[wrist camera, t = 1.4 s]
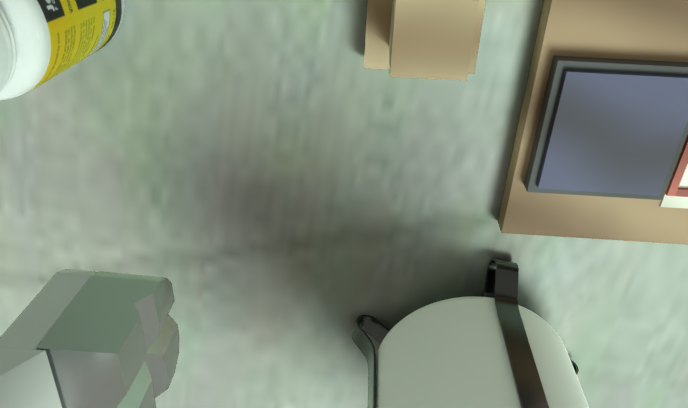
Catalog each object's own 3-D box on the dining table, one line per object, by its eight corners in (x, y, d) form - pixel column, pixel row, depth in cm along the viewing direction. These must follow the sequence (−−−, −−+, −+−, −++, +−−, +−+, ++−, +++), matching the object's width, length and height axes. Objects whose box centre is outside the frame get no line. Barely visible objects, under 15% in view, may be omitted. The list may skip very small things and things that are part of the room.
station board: (548, -22, 25) (562, -12, 23) (891, -6, 24) (936, 5, 23) (497, 221, 32) (505, 244, 30) (766, 237, 31) (792, 262, 29)
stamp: (371, -57, 25) (367, -38, 20) (487, -51, 25) (515, -31, 20) (364, 58, 28) (360, 101, 22) (470, 64, 27) (490, 108, 22)
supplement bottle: (149, -18, 26) (31, 37, 17) (96, 73, 29) (-31, 161, 20) (34, -108, 25) (-160, -96, 16) (-12, -3, 27) (-201, 57, 18)
